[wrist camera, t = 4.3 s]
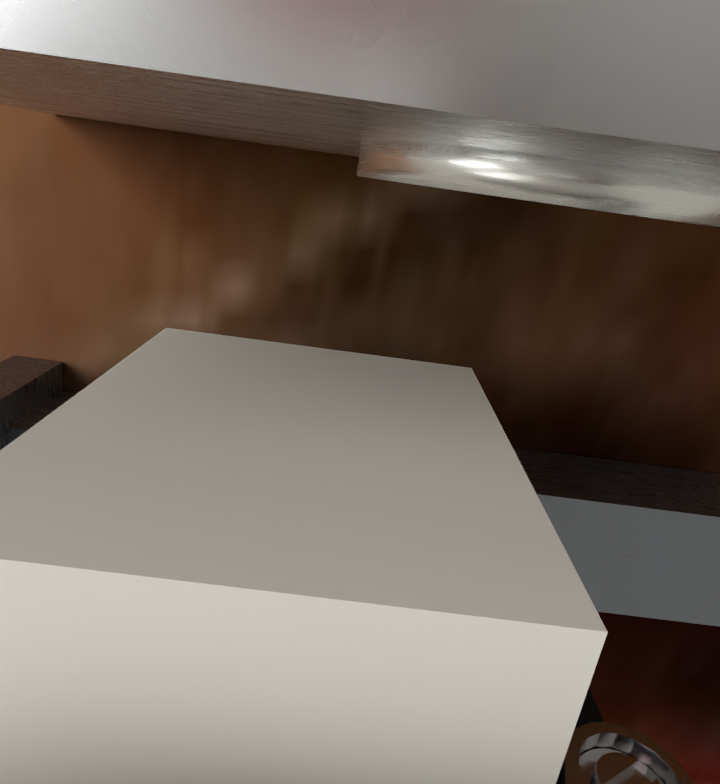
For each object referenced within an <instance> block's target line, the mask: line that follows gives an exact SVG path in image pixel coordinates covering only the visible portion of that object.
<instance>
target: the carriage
mask: <svg viewBox="0 0 720 784" xmlns="http://www.w3.org/2000/svg"><path fill="white" fill-rule="evenodd" d="M607 633H608V632H607V630H606V628H605V626H604V624H603V622H602V620H601V618H600V616H599V614H598V612H597V610H596V608H595V606H594V604H593V603H592V601H591V599H590V597H589V595H588V593H587V591H586V589H585V587H584V585H583V583H582V581H581V579H580V577H579V575H578V573H577V571H576V570H575V568H574V566H573V564H572V562H571V560H570V558H569V556H568V554H567V552H566V550H565V548H564V546H563V544H562V542H561V540H560V539H559V537H558V535H557V533H556V531H555V529H554V527H553V525H552V523H551V521H550V519H549V517H548V515H547V513H546V511H545V509H544V508H543V506H542V504H541V502H540V500H539V498H538V496H537V494H536V492H535V490H534V488H533V486H532V484H531V482H530V480H529V478H528V476H527V475H526V473H525V471H524V469H523V467H522V465H521V463H520V461H519V459H518V457H517V455H516V453H515V451H514V449H513V447H512V445H511V444H510V442H509V440H508V438H507V436H506V434H505V432H504V430H503V428H502V426H501V424H500V422H499V420H498V418H497V416H496V414H495V413H494V411H493V409H492V407H491V405H490V403H489V401H488V399H487V397H486V395H485V393H484V391H483V389H482V387H481V385H480V383H479V381H478V380H477V378H476V376H475V374H474V372H473V370H472V368H468V367H461V366H453V365H446V364H438V363H430V362H423V361H415V360H408V359H400V358H392V357H385V356H377V355H370V354H362V353H354V352H347V351H339V350H332V349H324V348H316V347H309V346H301V345H294V344H286V343H278V342H271V341H263V340H255V339H248V338H240V337H233V336H225V335H217V334H210V333H202V332H195V331H187V330H179V329H172V328H165V329H164V330H162V331H161V332H160V333H158V334H157V335H156V336H154V337H153V338H152V339H150V340H149V341H147V342H146V343H145V344H143V345H142V346H141V347H139V348H138V349H137V350H135V351H134V352H133V353H131V354H130V355H129V356H127V357H126V358H125V359H123V360H122V361H120V362H119V363H118V364H116V365H115V366H114V367H112V368H111V369H110V370H108V371H107V372H106V373H104V374H103V375H102V376H100V377H99V378H97V379H96V380H95V381H93V382H92V383H91V384H89V385H88V386H87V387H85V388H84V389H83V390H81V391H80V392H79V393H77V394H76V395H75V396H73V397H72V398H70V399H69V400H68V401H66V402H65V403H64V404H62V405H61V406H60V407H58V408H57V409H56V410H54V411H53V412H52V413H50V414H49V415H48V416H46V417H45V418H43V419H42V420H41V421H39V422H38V423H37V424H35V425H34V426H33V427H31V428H30V429H29V430H27V431H26V432H25V433H23V434H22V435H20V436H19V437H18V438H16V439H15V440H14V441H12V442H11V443H10V444H8V445H7V446H6V447H4V448H3V449H2V450H0V784H556V782H557V779H558V776H559V773H560V770H561V767H562V764H563V761H564V758H565V755H566V752H567V749H568V747H569V744H570V741H571V738H572V735H573V732H574V729H575V726H576V723H577V720H578V717H579V714H580V712H581V709H582V706H583V703H584V700H585V697H586V694H587V691H588V688H589V685H590V682H591V679H592V677H593V674H594V671H595V668H596V665H597V662H598V659H599V656H600V653H601V650H602V647H603V644H604V642H605V639H606V636H607Z"/></svg>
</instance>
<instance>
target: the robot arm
mask: <svg viewBox="0 0 720 784" xmlns="http://www.w3.org/2000/svg"><path fill="white" fill-rule="evenodd" d="M556 784H694V783H693V781H692V780H691V779H690V777H689V776H688V774H687V773H686V771H685V770H684V769H683V767H682V766H681V764H680V763H679V762H678V761H676V760H675V759H674V758H673V757H672V756H671V755H670V754H669V753H668V752H667V751H666V750H665V749H664V748H663V747H661V746H660V745H659V744H657V743H656V742H654V741H653V740H651V739H650V738H648V737H647V736H645V735H644V734H641V733H639V732H637V731H635V730H633V729H630V728H628V727H626V726H623V725H618V724H614V723H609V722H604V721H603V719H602V717H601V714H600V712H599V710H598V707H597V705H596V703H595V700H594V698H593V696H592V693H591V691H590V688H588V691H587V694H586V697H585V700H584V703H583V706H582V709H581V712H580V714H579V717H578V720H577V723H576V726H575V729H574V732H573V735H572V738H571V741H570V744H569V747H568V749H567V752H566V755H565V758H564V761H563V764H562V767H561V770H560V773H559V776H558V779H557V782H556Z"/></svg>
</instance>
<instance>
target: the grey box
mask: <svg viewBox="0 0 720 784" xmlns="http://www.w3.org/2000/svg"><path fill="white" fill-rule="evenodd" d="M0 104H2V105H7V106H12V107H18V108H23V109H28V110H33V111H38V112H44V113H49V114H55V115H62V116H70V117H77V118H84V119H91V120H98V121H105V122H112V123H119V124H127V125H134V126H141V127H148V128H155V129H162V130H169V131H176V132H184V133H191V134H198V135H205V136H212V137H219V138H226V139H233V140H241V141H248V142H255V143H262V144H269V145H276V146H283V147H290V148H298V149H305V150H312V151H319V152H326V153H333V154H340V155H347V156H355V157H359V161H358V169H357V176H360V177H367V178H373V179H380V180H387V181H393V182H400V183H407V184H414V185H421V186H428V187H435V188H442V189H449V190H456V191H463V192H470V193H477V194H484V195H491V196H498V197H505V198H512V199H519V200H526V201H533V202H540V203H547V204H554V205H562V206H569V207H576V208H583V209H590V210H597V211H604V212H612V213H619V214H626V215H633V216H640V217H648V218H655V219H662V220H669V221H677V222H684V223H691V224H699V225H706V226H713V227H720V0H0Z"/></svg>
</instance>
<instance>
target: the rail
mask: <svg viewBox="0 0 720 784" xmlns="http://www.w3.org/2000/svg"><path fill="white" fill-rule="evenodd" d="M77 393H79V392H78V391H71V390H63V378H62V362H55V361H47V360H39V359H32V358H24V357H16V356H12V357H10V358H8V359H6V360H4V361H2V362H0V450H2V449H3V448H4V447H6V446H7V445H8V444H10V443H11V442H12V441H14V440H15V439H16V438H18V437H19V436H20V435H22V434H23V433H25V432H26V431H27V430H29V429H30V428H31V427H33V426H34V425H35V424H37V423H38V422H39V421H41V420H42V419H43V418H45V417H46V416H48V415H49V414H50V413H52V412H53V411H54V410H56V409H57V408H58V407H60V406H61V405H62V404H64V403H65V402H66V401H68V400H69V399H70V398H72V397H73V396H75V395H76V394H77ZM513 449H514V451H515V453H516V455H517V457H518V459H519V461H520V463H521V465H522V467H523V469H524V471H525V473H526V475H527V476H528V478H529V480H530V482H531V484H532V486H533V488H534V490H535V492H536V494H537V496H538V498H539V500H540V502H541V504H542V506H543V508H544V509H545V511H546V513H547V515H548V517H549V519H550V521H551V523H552V525H553V527H554V529H555V531H556V533H557V535H558V537H559V539H560V540H561V542H562V544H563V546H564V548H565V550H566V552H567V554H568V556H569V558H570V560H571V562H572V564H573V566H574V568H575V570H576V571H577V573H578V575H579V577H580V579H581V581H582V583H583V585H584V587H585V589H586V591H587V593H588V595H589V597H590V599H591V601H592V603H593V604H594V606H595V608H596V610H597V612H604V613H613V614H621V615H629V616H637V617H646V618H654V619H662V620H670V621H679V622H687V623H695V624H703V625H712V626H720V474H718V473H711V472H703V471H695V470H687V469H679V468H672V467H664V466H656V465H648V464H640V463H632V462H625V461H617V460H609V459H601V458H593V457H586V456H578V455H570V454H562V453H554V452H547V451H539V450H531V449H523V448H515V447H513Z"/></svg>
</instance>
